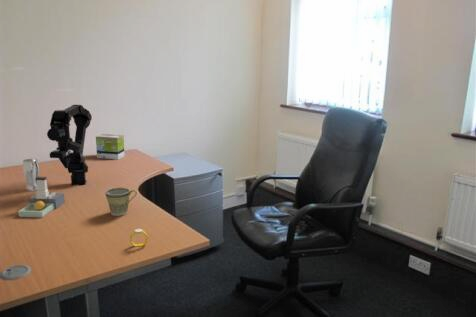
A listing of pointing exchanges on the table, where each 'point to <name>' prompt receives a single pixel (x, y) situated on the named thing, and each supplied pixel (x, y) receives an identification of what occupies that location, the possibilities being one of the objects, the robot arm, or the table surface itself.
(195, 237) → the table surface
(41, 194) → the beige upright block
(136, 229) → the watch
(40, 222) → the table surface
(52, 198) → the launcher deck
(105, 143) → the tea box
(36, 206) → the ball
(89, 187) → the table surface
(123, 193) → the ceramic cup
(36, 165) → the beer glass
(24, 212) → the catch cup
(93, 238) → the table surface
